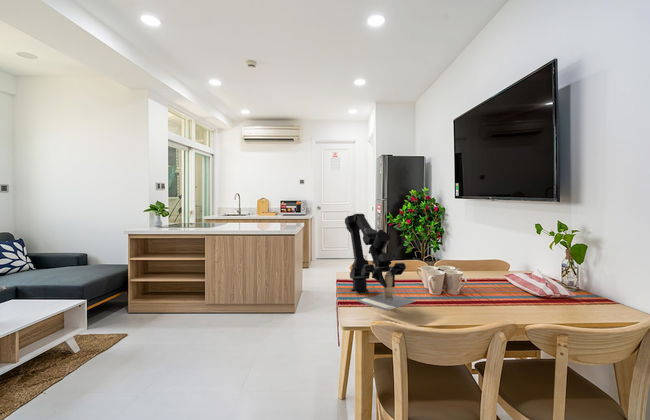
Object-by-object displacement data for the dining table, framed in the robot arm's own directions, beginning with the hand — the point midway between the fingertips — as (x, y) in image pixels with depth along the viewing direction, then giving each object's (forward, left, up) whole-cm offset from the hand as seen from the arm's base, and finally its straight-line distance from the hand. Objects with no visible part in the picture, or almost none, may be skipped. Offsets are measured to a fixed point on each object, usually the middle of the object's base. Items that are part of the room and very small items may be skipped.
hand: (389, 287), depth 135 cm
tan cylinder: (-1, +1, -6) cm, 6 cm away
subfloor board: (-7, +7, -10) cm, 14 cm away
